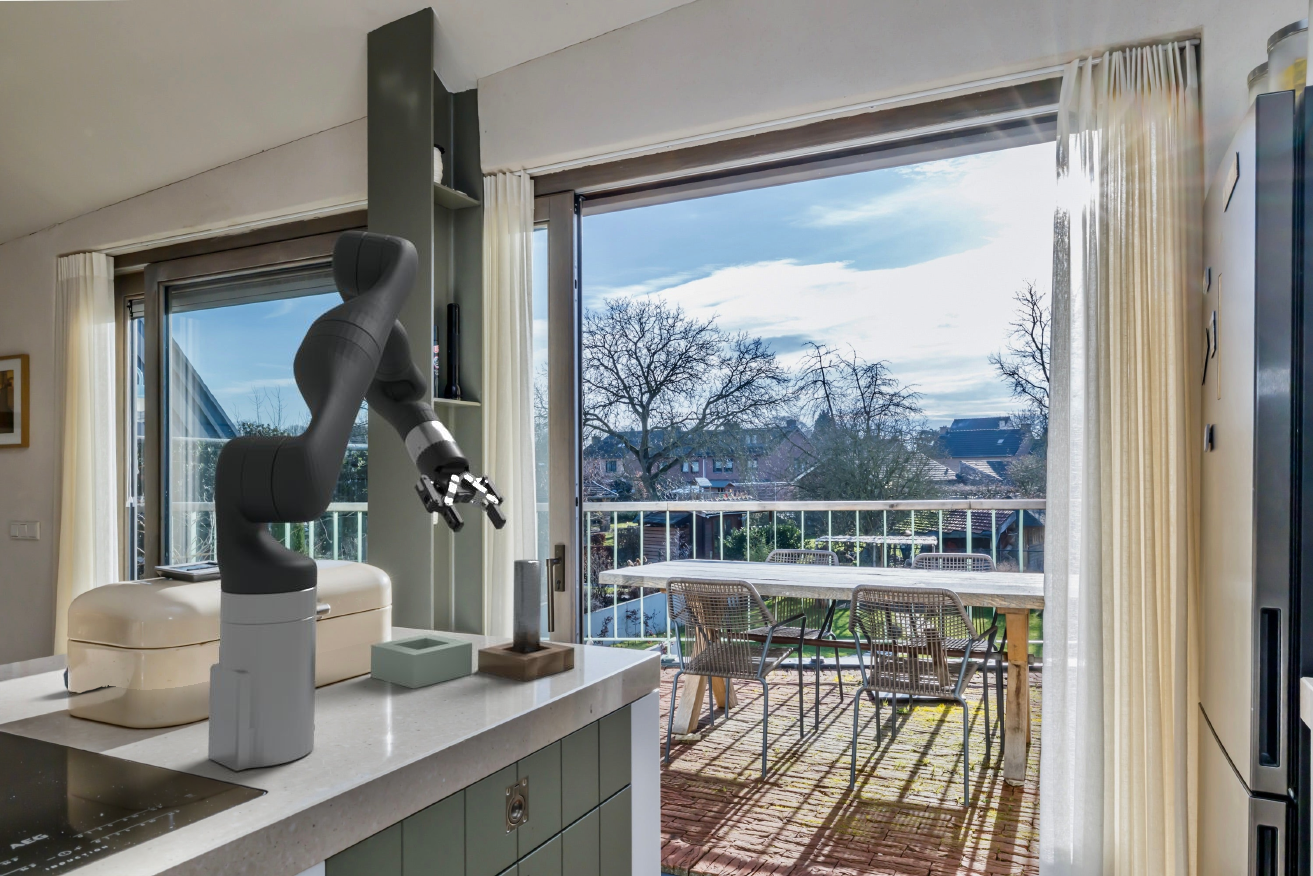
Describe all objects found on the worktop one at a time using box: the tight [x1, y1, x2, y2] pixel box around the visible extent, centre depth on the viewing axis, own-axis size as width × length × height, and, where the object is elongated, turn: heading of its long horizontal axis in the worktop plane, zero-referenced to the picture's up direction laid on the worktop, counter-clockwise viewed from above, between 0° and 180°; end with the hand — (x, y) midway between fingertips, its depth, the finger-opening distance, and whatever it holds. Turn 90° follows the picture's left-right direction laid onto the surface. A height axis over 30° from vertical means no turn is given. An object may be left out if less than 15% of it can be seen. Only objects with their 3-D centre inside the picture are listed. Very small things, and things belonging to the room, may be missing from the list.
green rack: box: [370, 633, 473, 689], centre depth 119 cm, size 10×10×4 cm
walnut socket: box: [477, 640, 575, 682], centre depth 123 cm, size 10×10×3 cm
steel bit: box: [512, 559, 542, 654], centre depth 123 cm, size 4×4×16 cm
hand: (481, 527), depth 130 cm, fingers open, 8 cm apart
